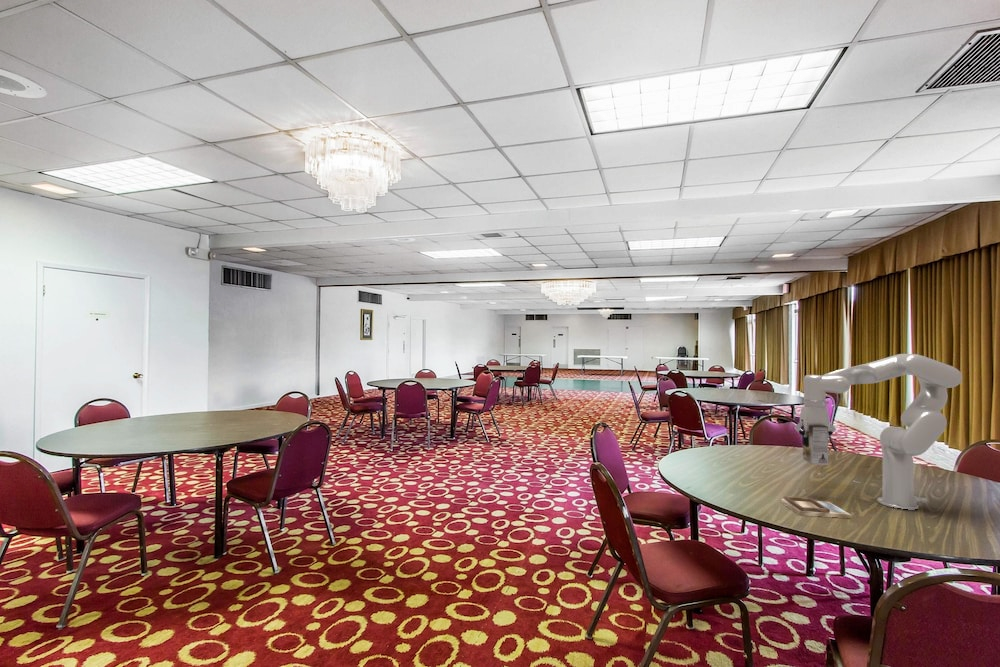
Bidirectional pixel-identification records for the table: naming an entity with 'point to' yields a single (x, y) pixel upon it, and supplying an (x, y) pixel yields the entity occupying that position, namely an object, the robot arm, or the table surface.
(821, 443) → the coffee box
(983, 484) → the table surface
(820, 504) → the build board
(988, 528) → the table surface
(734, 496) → the table surface
